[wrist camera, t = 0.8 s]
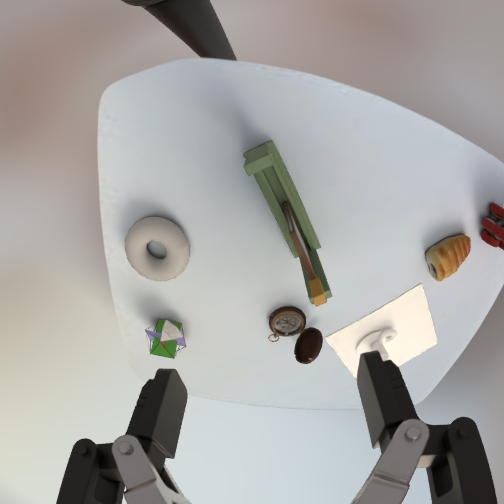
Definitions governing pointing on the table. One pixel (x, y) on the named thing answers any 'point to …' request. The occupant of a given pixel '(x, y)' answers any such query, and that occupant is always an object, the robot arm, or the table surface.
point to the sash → (304, 257)
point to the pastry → (447, 256)
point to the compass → (293, 323)
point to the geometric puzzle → (166, 338)
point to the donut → (168, 238)
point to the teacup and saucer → (388, 332)
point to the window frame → (276, 192)
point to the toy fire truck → (494, 227)
